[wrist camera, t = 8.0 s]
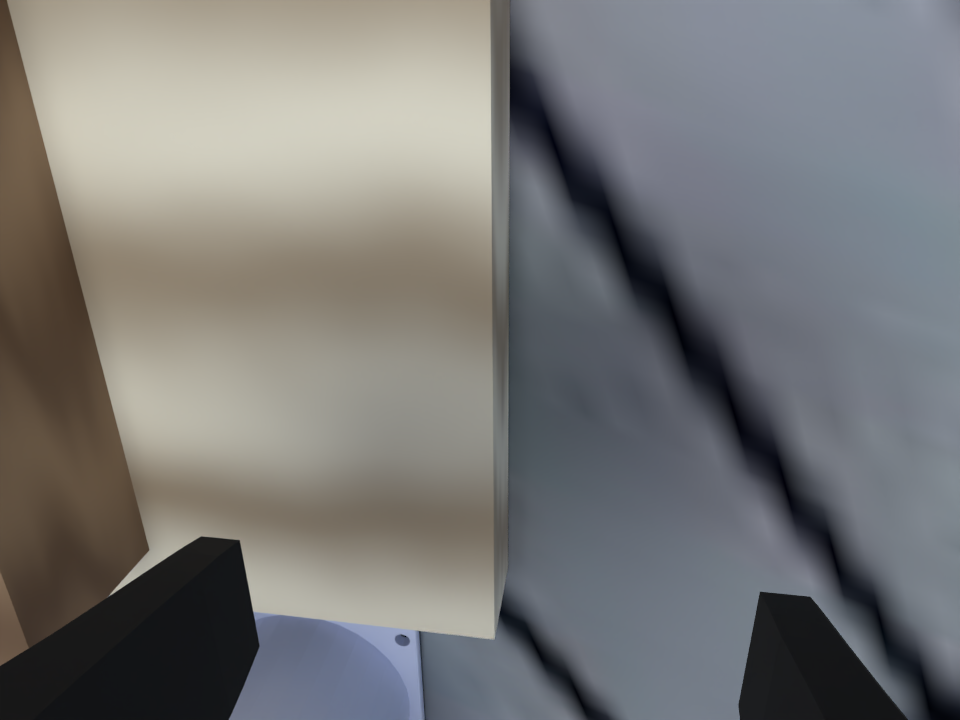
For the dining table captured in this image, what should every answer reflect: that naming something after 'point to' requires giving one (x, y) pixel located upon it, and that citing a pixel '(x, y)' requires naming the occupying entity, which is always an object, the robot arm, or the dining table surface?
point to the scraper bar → (50, 401)
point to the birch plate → (298, 284)
